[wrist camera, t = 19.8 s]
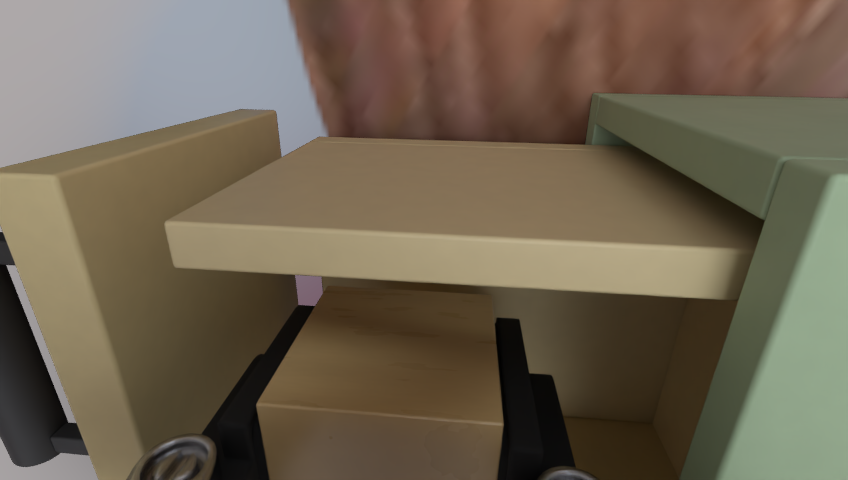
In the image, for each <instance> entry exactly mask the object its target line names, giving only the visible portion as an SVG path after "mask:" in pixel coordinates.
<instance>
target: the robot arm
mask: <svg viewBox="0 0 848 480" xmlns="http://www.w3.org/2000/svg"><path fill="white" fill-rule="evenodd" d="M314 307H315V306H305V305H298V306H297V307H296V308H295V309H294V311H293V312H292V314H291V315H290V317H289V318H288V320H287V321H286V323H285V324H284V326H283V327H282V328H281V330H280V331H279V333H278V334H277V336H276V337H275V339H274V340H273V342H272V343H271V345H270V346H269V348H268V349H267V351H266V352H265V354H259V355H257V356H256V357H255V358H254V359H253V361H252V362H251V364H250V365H249V366H248V368H247V369H246V371H245V372H244V374H243V375H242V376H241V378H240V379H239V381H238V382H237V384H236V385H235V386H234V388H233V389H232V391H231V392H230V394H229V395H228V396H227V398H226V399H225V401H224V402H223V404H222V405H221V406H220V408H219V409H218V411H217V412H216V414H215V415H214V416H213V418H212V419H211V421H210V422H209V424H208V425H207V426H206V428H205V429H204V431H203V432H202V434H193V433H189V434H183V435H177V436H175V437H172V438H169V439H167V440H164V441H163V442H161V443H159V444H157V445H156V446H154V447H152V448H151V449H150V450H149V451H148V452H146V453H145V454H144V455H143V456H142V457H141V458H140V459H139V461H138V462H137V463H136V465H135V466H134V467H133V469H132V471H131V472H130V474H129V476H128V478H127V479H126V480H269V475H268V470H267V464H266V458H265V453H264V447H263V442H262V436H261V430H260V425H259V419H258V414H257V408H256V404H257V402H258V400H259V398H260V397H261V395H262V393H263V392H264V390H265V389H266V387H267V385H268V384H269V382H270V380H271V379H272V377H273V375H274V374H275V372H276V370H277V369H278V367H279V365H280V364H281V362H282V360H283V359H284V357H285V355H286V354H287V352H288V350H289V349H290V347H291V345H292V344H293V342H294V341H295V339H296V337H297V336H298V334H299V332H300V331H301V329H302V327H303V326H304V324H305V322H306V321H307V319H308V317H309V316H310V314H311V312H312V311H313V309H314ZM495 333H496V344H497V355H498V366H499V377H500V388H501V399H502V410H503V420H504V428H503V437H502V446H501V455H500V460H499V469H498V478H497V480H600V479H598V478H597V477H595V476H594V475H592V474H590V473H589V472H587V471H584V470H581V469H579V468H576V466H575V462H574V458H573V454H572V450H571V446H570V442H569V438H568V434H567V430H566V426H565V422H564V418H563V414H562V410H561V406H560V402H559V398H558V394H557V391H556V387H555V383H554V379H553V377H552V376H551V375H548V374H534V373H529V369H528V363H527V358H526V353H525V347H524V342H523V336H522V331H521V325H520V320H519V319H516V318H500V317H497V318H496V323H495Z"/></svg>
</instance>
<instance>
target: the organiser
mask: <svg viewBox="0 0 848 480" xmlns="http://www.w3.org/2000/svg"><path fill="white" fill-rule="evenodd" d="M585 145H610V146H635V147H637V148H639V149H641V150H642V151H644V152H646V153H647V154H649V155H651V156H653V157H654V158H656V159H658V160H660V161H661V162H663V163H665V164H667V165H668V166H670V167H672V168H673V169H675V170H677V171H679V172H680V173H682V174H684V175H686V176H687V177H689V178H691V179H693V180H694V181H696V182H698V183H700V184H701V185H703V186H705V187H706V188H708V189H710V190H712V191H713V192H715V193H717V194H719V195H720V196H722V197H724V198H726V199H727V200H729V201H731V202H732V203H734V204H736V205H738V206H739V207H741V208H743V209H745V210H746V211H748V212H750V213H752V214H753V215H755V216H757V217H759V218H760V219H763V220H765V222H764V225H763V228H762V231H761V234H760V237H759V240H758V243H757V246H756V249H755V252H754V255H753V258H752V261H751V264H750V267H749V270H748V273H747V276H746V279H745V282H744V285H743V288H742V291H741V294H740V297H739V300H738V303H737V306H736V309H735V312H734V315H733V318H732V321H731V324H730V327H729V330H728V333H727V336H726V339H725V342H724V345H723V348H722V351H721V354H720V357H719V360H718V363H717V366H716V369H715V372H714V375H713V378H712V381H711V384H710V387H709V390H708V393H707V396H706V399H705V402H704V406H703V409H702V412H701V415H700V418H699V421H698V424H697V427H696V430H695V433H694V436H693V439H692V442H691V445H690V448H689V451H688V454H687V457H686V460H685V463H684V466H683V469H682V472H681V475H680V478H679V480H848V98H813V97H763V96H714V95H664V94H615V93H594V94H593V95H592V101H591V108H590V115H589V121H588V128H587V134H586V141H585Z"/></svg>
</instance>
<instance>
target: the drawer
mask: <svg viewBox="0 0 848 480" xmlns="http://www.w3.org/2000/svg"><path fill="white" fill-rule="evenodd" d="M764 222H765V220H763V219H760V218H759V217H757V216H755V215H753V214H752V213H750V212H748V211H746V210H745V209H743V208H741V207H739V206H738V205H736V204H734V203H732V202H731V201H729V200H727V199H726V198H724V197H722V196H720V195H719V194H717V193H715V192H713V191H712V190H710V189H708V188H706V187H705V186H703V185H701V184H700V183H698V182H696V181H694V180H693V179H691V178H689V177H687V176H686V175H684V174H682V173H680V172H679V171H677V170H675V169H673V168H672V167H670V166H668V165H667V164H665V163H663V162H661V161H660V160H658V159H656V158H654V157H653V156H651V155H649V154H647V153H646V152H644V151H642V150H641V149H639V148H637V147H635V146H610V145H577V144H544V143H510V142H477V141H444V140H411V139H378V138H345V137H318V138H316V139H314V140H312V141H310V142H309V143H307V144H305V145H303V146H301V147H300V148H298V149H296V150H294V151H292V152H291V153H289V154H287V155H285V156H283V157H281V149H280V141H279V133H278V123H277V114H276V111H274V110H247V109H239V110H235V111H232V112H227V113H223V114H219V115H216V116H211V117H207V118H203V119H199V120H195V121H190V122H186V123H183V124H179V125H174V126H170V127H166V128H162V129H158V130H154V131H150V132H145V133H141V134H138V135H133V136H129V137H125V138H121V139H117V140H113V141H109V142H105V143H101V144H97V145H92V146H88V147H84V148H80V149H76V150H72V151H68V152H64V153H60V154H56V155H51V156H47V157H43V158H39V159H35V160H31V161H27V162H23V163H19V164H15V165H10V166H6V167H2V168H0V226H1V229H2V231H3V232H0V437H1V439H2V441H3V443H4V445H5V447H6V449H7V451H8V454H9V455H10V458H11V460H12V462H13V463H14V464H15V465H17V466H21V467H30V466H35V465H38V464H41V463H44V462H46V461H48V460H50V459H52V458H54V457H55V456H57V455H59V454H60V453H70V454H80V455H89V456H90V459H91V461H92V464H93V466H94V469H95V471H96V474H97V477H98V479H99V480H126V479H127V478H128V476H129V474H130V472H131V471H132V469H133V467H134V466H135V465H136V463H137V462H138V461H139V459H140V458H141V457H142V456H143V455H144V454H145V453H146V452H148V451H149V450H150V449H151V448H152V447H154V446H156V445H157V444H159V443H161V442H163V441H164V440H167V439H169V438H172V437H175V436H177V435H183V434H189V433H193V434H202V432H203V431H204V429H205V428H206V426H207V425H208V424H209V422H210V421H211V419H212V418H213V416H214V415H215V414H216V412H217V411H218V409H219V408H220V406H221V405H222V404H223V402H224V401H225V399H226V398H227V396H228V395H229V394H230V392H231V391H232V389H233V388H234V386H235V385H236V384H237V382H238V381H239V379H240V378H241V376H242V375H243V374H244V372H245V371H246V369H247V368H248V366H249V365H250V364H251V362H252V361H253V359H254V358H255V357H256V356H257V355H259V354H265V352H266V351H267V349H268V348H269V346H270V345H271V343H272V342H273V340H274V339H275V337H276V336H277V334H278V333H279V331H280V330H281V328H282V327H283V326H284V324H285V323H286V321H287V320H288V318H289V317H290V315H291V314H292V312H293V311H294V309H295V308H296V307H297V306H298V298H297V289H296V280H295V275H305V276H322V287H323V293H324V291H325V289H326V288H327V286H343V287H360V288H378V289H395V290H412V291H430V292H447V293H465V294H482V295H491V296H492V300H493V311H494V322H495V323H496V318H497V317H500V318H516V319H519V320H520V325H521V331H522V336H523V342H524V347H525V353H526V358H527V363H528V369H529V373H534V374H548V375H551V376H552V377H553V379H554V383H555V387H556V391H557V394H558V398H559V402H560V406H561V410H562V414H563V418H564V422H565V426H566V430H567V434H568V438H569V442H570V446H571V450H572V454H573V458H574V462H575V466H576V468H579V469H581V470H584V471H587V472H589V473H590V474H592V475H594V476H595V477H597V478H598V479H600V480H679V478H680V475H681V472H682V469H683V466H684V463H685V460H686V457H687V454H688V451H689V448H690V445H691V442H692V439H693V436H694V433H695V430H696V427H697V424H698V421H699V418H700V415H701V412H702V409H703V406H704V402H705V399H706V396H707V393H708V390H709V387H710V384H711V381H712V378H713V375H714V372H715V369H716V366H717V363H718V360H719V357H720V354H721V351H722V348H723V345H724V342H725V339H726V336H727V333H728V330H729V327H730V324H731V321H732V318H733V315H734V312H735V309H736V306H737V303H738V300H739V297H740V294H741V291H742V288H743V285H744V282H745V279H746V276H747V273H748V270H749V267H750V264H751V261H752V258H753V255H754V252H755V249H756V246H757V243H758V240H759V237H760V234H761V231H762V228H763V225H764ZM6 265H16V267H17V270H18V273H19V275H20V278H21V280H22V283H23V286H24V288H25V291H26V293H27V296H28V298H29V301H30V304H31V306H32V309H33V311H34V314H35V317H36V319H37V322H38V324H39V327H40V329H41V332H42V335H43V337H44V340H45V343H46V345H47V348H48V350H49V353H50V355H51V358H52V361H53V363H54V366H55V368H56V371H57V374H58V376H59V379H60V381H61V384H62V386H63V389H64V392H65V394H66V396H67V399H68V402H69V405H70V407H71V410H72V412H73V415H74V417H75V420H76V423H68V421H67V418H66V415H65V413H64V410H63V408H62V405H61V403H60V400H59V398H58V395H57V393H56V390H55V388H54V385H53V383H52V380H51V378H50V375H49V373H48V370H47V367H46V365H45V362H44V360H43V358H42V355H41V353H40V350H39V347H38V345H37V342H36V340H35V337H34V335H33V332H32V330H31V327H30V325H29V322H28V319H27V317H26V314H25V312H24V309H23V307H22V304H21V302H20V299H19V297H18V294H17V292H16V289H15V287H14V284H13V282H12V279H11V277H10V274H9V272H8V269H7V266H6Z"/></svg>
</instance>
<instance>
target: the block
mask: <svg viewBox="0 0 848 480" xmlns="http://www.w3.org/2000/svg"><path fill="white" fill-rule="evenodd" d="M256 408H257V414H258V419H259V425H260V430H261V436H262V442H263V447H264V453H265V458H266V464H267V470H268V475H269V480H497V478H498V469H499V460H500V455H501V446H502V437H503V428H504V420H503V410H502V399H501V388H500V377H499V366H498V355H497V344H496V333H495V322H494V311H493V300H492V296H491V295H482V294H465V293H447V292H430V291H412V290H395V289H378V288H360V287H343V286H327V288H326V289H325V291H324V293H323V294H322V296H321V298H320V299H319V301H318V302H317V304H316V306H315V307H314V309H313V311H312V312H311V314H310V316H309V317H308V319H307V321H306V322H305V324H304V326H303V327H302V329H301V331H300V332H299V334H298V336H297V337H296V339H295V341H294V342H293V344H292V345H291V347H290V349H289V350H288V352H287V354H286V355H285V357H284V359H283V360H282V362H281V364H280V365H279V367H278V369H277V370H276V372H275V374H274V375H273V377H272V379H271V380H270V382H269V384H268V385H267V387H266V389H265V390H264V392H263V393H262V395H261V397H260V398H259V400H258V402H257V404H256Z"/></svg>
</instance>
